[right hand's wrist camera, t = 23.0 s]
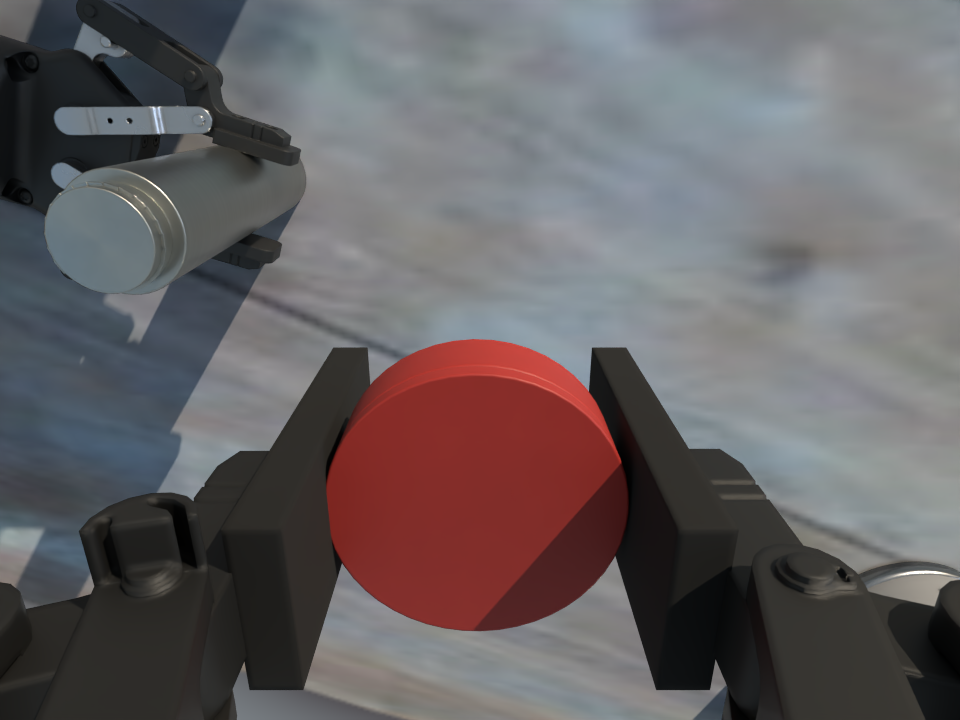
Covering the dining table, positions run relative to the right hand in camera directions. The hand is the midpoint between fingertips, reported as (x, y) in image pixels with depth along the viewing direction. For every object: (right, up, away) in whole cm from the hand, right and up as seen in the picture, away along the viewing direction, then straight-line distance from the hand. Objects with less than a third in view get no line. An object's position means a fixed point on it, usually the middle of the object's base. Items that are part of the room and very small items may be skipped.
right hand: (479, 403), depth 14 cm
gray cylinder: (-13, +12, +24) cm, 29 cm away
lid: (0, -1, -4) cm, 4 cm away
